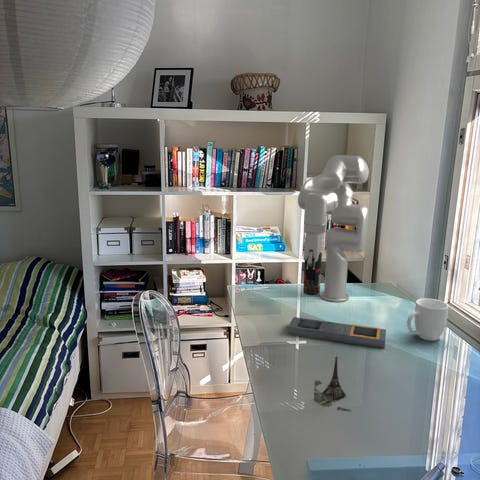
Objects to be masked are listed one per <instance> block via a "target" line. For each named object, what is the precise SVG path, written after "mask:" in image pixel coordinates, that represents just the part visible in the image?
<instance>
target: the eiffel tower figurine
mask: <svg viewBox="0 0 480 480" xmlns="http://www.w3.org/2000/svg"><path fill="white" fill-rule="evenodd" d="M338 358H339V357H338V355H336V356H335V357H334V359H335V360H334V366H333V373H332V377H331V380H330V381H329V384H328V385H327V387H326V388H325V389H324V390H323V391H320V390H318V389H317V387H318V386H319V385H322V384H323V383H322V382H321V381H320V380H314V381H315V383H314V398H313V400H314V402H315V403H317V404H318V405H319V406H321V407H325V408H326V407H327V408H329V407H333V403H336V402H338V401H341V400H343V399H345V398H348V395H346V393H345V391H344V390H343V389H342V386H341V385H340V382H339V381H340V380H339V376H338V360H339V359H338ZM332 402H333V403H332ZM336 410H337V411H349V412H351V410H352V409H351V408H345V407H341V406H337V408H336Z"/></svg>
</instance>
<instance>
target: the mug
mask: <svg viewBox="0 0 480 480" xmlns="http://www.w3.org/2000/svg"><path fill="white" fill-rule="evenodd" d="M448 314H449V304H448V303H446V302H445V301H443V300H439V299H434V298H419V299H417V300H416V301H415V307H414V311H412V312H411V313H410V314H409V315H408V318H407V321H406V327H407V330H409V332H410V333H412V334H415V335H417V336H418V337H419V338H420V339H422V340H425V341H428V342H429V341H430V342H435V341H438V340H439V339H440V338H441V337H442V335H443V333H444V331H445V329H446V326H447V322H448ZM413 318H414V327H415V330H413V329H412V319H413Z"/></svg>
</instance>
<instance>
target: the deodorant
mask: <svg viewBox="0 0 480 480" xmlns="http://www.w3.org/2000/svg"><path fill="white" fill-rule="evenodd" d="M322 258H323V253H322V252H321V253H320V254H319V257H318V261H316V264H315V269H316V275H315V280H306V270H307V262H308V259H307V260H306V261H304V265H303V266H304V269H303V271H304V272H303V288H302V289H303V290H302V292H303V294H304V295H306V296H319V295H320V294H321V279H322V278H321V277H322V262H323V261H322ZM314 259H315V258H314ZM314 259H312V261H314ZM313 264H314V263H313Z"/></svg>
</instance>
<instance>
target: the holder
mask: <svg viewBox="0 0 480 480" xmlns="http://www.w3.org/2000/svg"><path fill="white" fill-rule="evenodd" d="M386 333H387V329H384V328H380V327H373V326H366V325H361V324H360V325H359V324H349V323H348V324H347V323H340V322H333V321H325V320H319V319H311V318H305V317H304V318H303V317H297V316H295V317H294V316H293V318H292V319H291V321H290V323H289V324H288V326H287V335H290V336H296V337H304V338H310V339H316V338H317V340H324V341H329V340H330V342H336V341H337V343H344V344H350V345H351V344H352V345H358V346H365V347H372V348H378V349H385V348H386V347H385V345H386V335H387V334H386Z"/></svg>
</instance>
